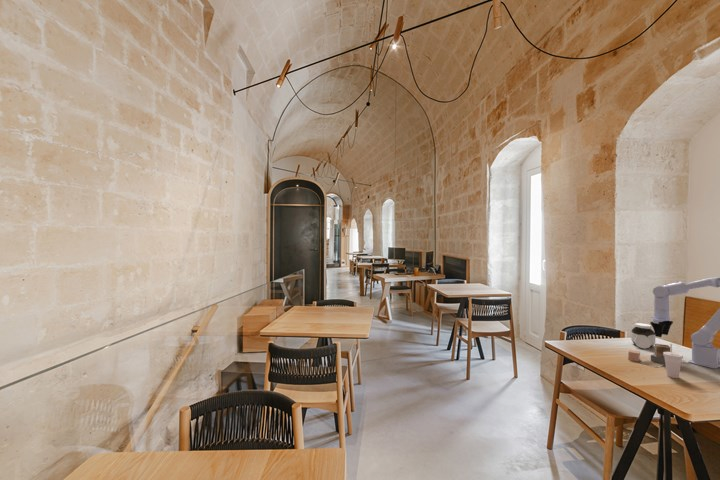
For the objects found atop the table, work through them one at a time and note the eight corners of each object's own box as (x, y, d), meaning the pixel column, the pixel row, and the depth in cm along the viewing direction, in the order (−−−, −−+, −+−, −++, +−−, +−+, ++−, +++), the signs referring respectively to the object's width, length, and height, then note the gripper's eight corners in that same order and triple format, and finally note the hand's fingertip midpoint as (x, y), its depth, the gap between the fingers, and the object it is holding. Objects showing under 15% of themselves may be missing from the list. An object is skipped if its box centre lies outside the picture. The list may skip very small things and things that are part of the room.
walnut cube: (668, 355, 165) (668, 345, 165) (670, 358, 161) (670, 348, 161) (654, 353, 168) (654, 343, 167) (656, 356, 163) (656, 346, 163)
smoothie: (662, 372, 152) (662, 341, 152) (682, 375, 148) (682, 343, 148) (663, 376, 147) (663, 344, 147) (683, 380, 143) (683, 347, 143)
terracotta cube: (639, 359, 168) (639, 351, 168) (638, 361, 165) (638, 353, 165) (629, 357, 171) (629, 349, 171) (628, 359, 168) (628, 351, 168)
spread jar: (647, 343, 194) (647, 323, 194) (663, 350, 182) (663, 328, 182) (625, 343, 195) (625, 322, 195) (639, 349, 184) (639, 327, 184)
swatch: (663, 364, 161) (663, 364, 161) (657, 367, 158) (657, 366, 158) (646, 360, 167) (646, 359, 167) (639, 363, 163) (639, 362, 163)
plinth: (676, 364, 162) (676, 357, 162) (669, 367, 159) (669, 359, 159) (657, 359, 169) (658, 352, 169) (650, 362, 165) (650, 355, 165)
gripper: (658, 306, 182) (658, 331, 182) (645, 309, 174) (645, 335, 175) (675, 308, 176) (675, 335, 176) (663, 311, 168) (663, 339, 168)
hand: (661, 335), depth 175 cm, fingers open, 7 cm apart
